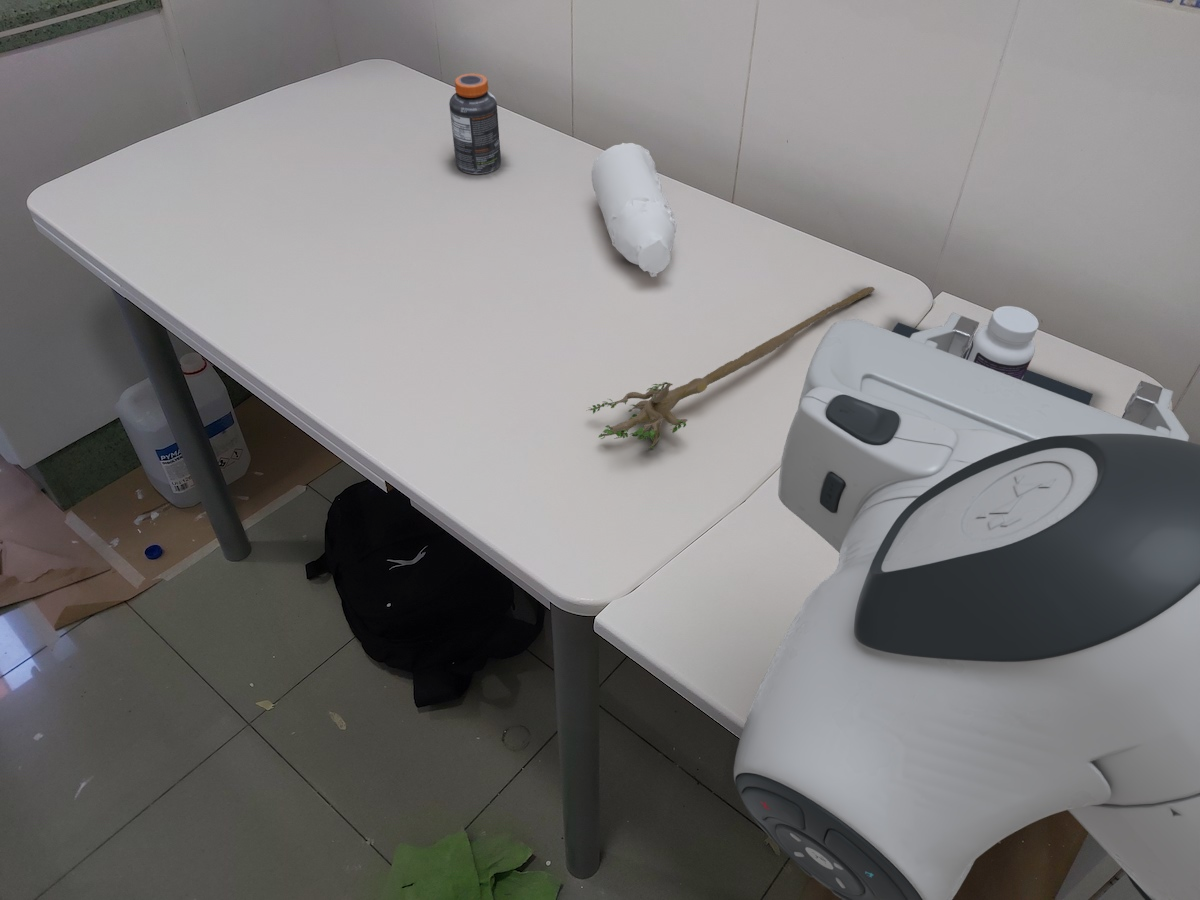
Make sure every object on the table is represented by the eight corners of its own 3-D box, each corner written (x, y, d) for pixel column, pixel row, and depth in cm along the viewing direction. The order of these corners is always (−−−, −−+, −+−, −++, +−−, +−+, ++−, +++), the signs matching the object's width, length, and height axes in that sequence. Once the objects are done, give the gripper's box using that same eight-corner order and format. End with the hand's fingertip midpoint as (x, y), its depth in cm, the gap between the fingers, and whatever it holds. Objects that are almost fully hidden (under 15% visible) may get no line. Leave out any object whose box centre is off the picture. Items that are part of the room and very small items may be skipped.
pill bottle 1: (499, 152, 119) (494, 67, 110) (502, 174, 115) (497, 88, 106) (455, 154, 118) (446, 69, 110) (456, 176, 114) (447, 90, 106)
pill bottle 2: (1018, 415, 84) (1058, 335, 77) (966, 420, 84) (1001, 339, 77) (993, 378, 88) (1029, 298, 81) (942, 382, 88) (974, 302, 81)
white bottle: (616, 294, 97) (618, 231, 91) (590, 204, 110) (591, 144, 104) (686, 288, 98) (693, 226, 92) (653, 199, 111) (657, 140, 105)
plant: (866, 290, 98) (884, 226, 92) (921, 327, 94) (944, 262, 88) (573, 430, 82) (572, 364, 77) (622, 482, 78) (626, 416, 72)
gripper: (1291, 609, 31) (1319, 392, 39) (767, 387, 39) (881, 244, 47) (1200, 697, 36) (1242, 486, 44) (747, 483, 43) (854, 337, 51)
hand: (1052, 360), depth 45 cm, fingers open, 8 cm apart
